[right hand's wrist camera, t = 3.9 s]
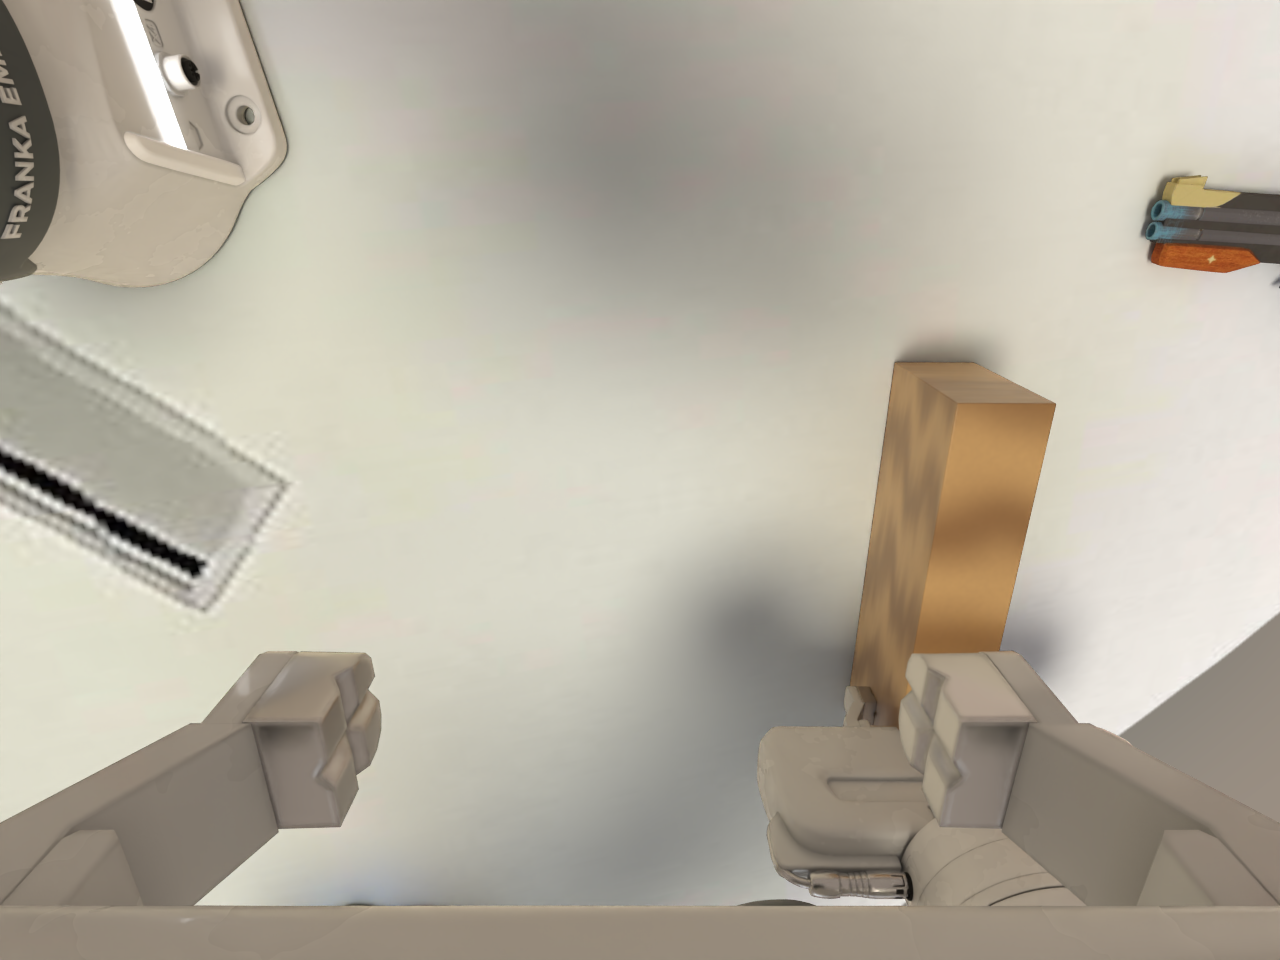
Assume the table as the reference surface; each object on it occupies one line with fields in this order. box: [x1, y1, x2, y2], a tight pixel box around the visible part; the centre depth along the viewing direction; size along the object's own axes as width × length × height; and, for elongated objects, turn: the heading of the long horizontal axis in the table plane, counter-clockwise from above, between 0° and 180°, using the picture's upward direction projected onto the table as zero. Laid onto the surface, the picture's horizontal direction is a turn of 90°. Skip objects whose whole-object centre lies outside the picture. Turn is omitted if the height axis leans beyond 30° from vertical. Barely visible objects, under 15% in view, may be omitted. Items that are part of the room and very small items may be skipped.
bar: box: [850, 362, 1056, 730], centre depth 40 cm, size 25×4×9 cm, turn 0°
